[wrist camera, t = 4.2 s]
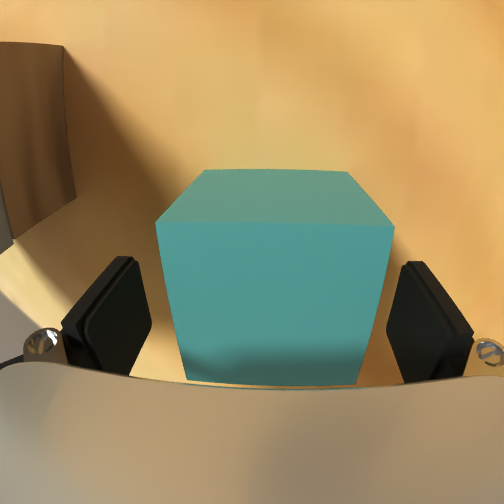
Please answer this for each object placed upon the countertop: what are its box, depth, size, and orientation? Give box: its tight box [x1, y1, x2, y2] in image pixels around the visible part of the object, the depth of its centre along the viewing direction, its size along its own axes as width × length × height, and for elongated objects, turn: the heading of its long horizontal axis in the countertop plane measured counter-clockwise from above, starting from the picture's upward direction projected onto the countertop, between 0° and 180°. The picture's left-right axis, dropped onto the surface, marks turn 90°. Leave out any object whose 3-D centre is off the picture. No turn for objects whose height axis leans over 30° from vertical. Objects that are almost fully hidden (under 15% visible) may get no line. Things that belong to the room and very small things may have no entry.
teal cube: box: [155, 169, 395, 386], centre depth 11 cm, size 6×6×6 cm
